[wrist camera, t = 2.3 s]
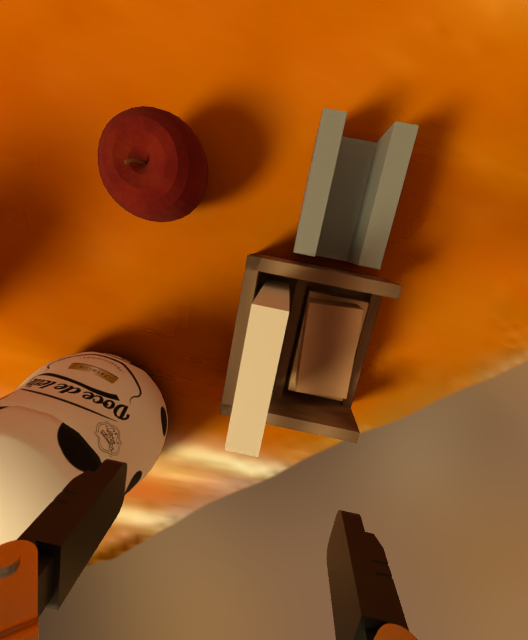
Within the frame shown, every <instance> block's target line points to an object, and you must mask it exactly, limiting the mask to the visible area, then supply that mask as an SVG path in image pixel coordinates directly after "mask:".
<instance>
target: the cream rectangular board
mask: <svg viewBox="0 0 528 640" xmlns="http://www.w3.org/2000/svg"><path fill="white" fill-rule="evenodd" d="M288 316H289V283H286V282H281V281H276V280H271V279H267V280H266V282H265V283H264V285H263V287H262V288H261V290H260V291H259V293H258V294H257V296H256V298H255V299H254V301H253V302H252V304H251V310H250V315H249V320H248V326H247V331H246V337H245V342H244V347H243V353H242V358H241V364H240V369H239V374H238V380H237V385H236V391H235V396H234V401H233V407H232V412H231V418H230V423H229V428H228V434H227V439H226V445H225V450H227V451H231V452H236V453H240V454H245V455H250V456H254V457H258V456H259V451H260V446H261V442H262V437H263V432H264V428H265V423H266V418H267V414H268V409H269V404H270V400H271V395H272V390H273V386H274V381H275V376H276V372H277V367H278V362H279V358H280V353H281V348H282V344H283V339H284V334H285V330H286V325H287V320H288Z"/></svg>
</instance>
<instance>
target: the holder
mask: <svg viewBox="0 0 528 640" xmlns="http://www.w3.org/2000/svg"><path fill="white" fill-rule="evenodd" d="M346 116H347V112H343V111H338V110H332V109H327V108H323V112H322V116H321V120H320V124H319V128H318V132H317V136H316V141H315V146H314V151H313V156H312V160H311V165H310V170H309V175H308V180H307V184H306V189H305V194H304V199H303V204H302V209H301V213H300V218H299V223H298V228H297V233H296V238H295V242H294V247H293V252H294V253H299V254H304V255H309V256H314V257H315V256H320V257H326V258H331V259H336V260H341V261H346V262H350V263H353V264H356V265H360V266H365V267H370V268H375V269H380V268H381V264H382V260H383V257H384V253H385V249H386V245H387V242H388V238H389V234H390V231H391V227H392V223H393V220H394V216H395V212H396V209H397V205H398V201H399V198H400V194H401V190H402V187H403V183H404V179H405V176H406V172H407V168H408V165H409V161H410V157H411V153H412V150H413V146H414V142H415V139H416V135H417V131H418V128H419V125H414V124H409V123H403V122H398V121H395V122H394V123H393V124H392V125H391V126H390V127H389V129H388V130H387V131H386V132H385V133H384V134H383V136H382V137H381V138H380V139H379V140H378V141H377V143H376V142H371V141H366V140H360V139H355V138H350V137H344V136H342V134H343V129H344V125H345V120H346Z"/></svg>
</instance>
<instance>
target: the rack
mask: <svg viewBox="0 0 528 640" xmlns="http://www.w3.org/2000/svg"><path fill="white" fill-rule="evenodd" d="M267 279H271V280H276V281H281V282H286V283H289V316H288V320H287V325H286V330H285V334H284V339H283V344H282V348H281V353H280V358H279V362H278V367H277V372H276V376H275V381H274V386H273V390H272V395H271V400H270V404H269V409H268V414H267V418H266V423H265V424H270V425H274V426H279V427H284V428H288V429H293V430H298V431H302V432H307V433H312V434H317V435H321V436H326V437H331V438H335V439H340V440H345V441H350V442H354V443H357V440H358V437H359V433H360V432H359V429H358V427H357V424H356V421H355V419H354V416H353V413H352V411H351V405H352V401H353V398H354V394H355V391H356V387H357V384H358V380H359V376H360V373H361V369H362V366H363V362H364V358H365V355H366V351H367V348H368V344H369V340H370V337H371V333H372V330H373V326H374V322H375V319H376V315H377V312H378V308H379V304H380V301H381V297H382V296H385V297H390V298H395V299H399V296H400V292H401V289H402V286H401V285H398V284H396V283H393V282H390V281H388V280H385V279H382V278H380V277H375V276H370V275H365V274H360V273H355V272H350V271H345V270H340V269H335V268H330V267H325V266H320V265H315V264H310V263H305V262H300V261H295V260H290V259H285V258H280V257H274V256H269V255H264V254H259V253H254V254H250V255H247V261H246V266H245V272H244V278H243V283H242V289H241V295H240V300H239V306H238V312H237V318H236V323H235V329H234V335H233V340H232V346H231V352H230V357H229V363H228V369H227V374H226V380H225V386H224V391H223V397H222V403H221V408H220V414H223V415H227V416H231V412H232V407H233V401H234V396H235V391H236V385H237V380H238V374H239V369H240V364H241V358H242V353H243V347H244V342H245V337H246V331H247V326H248V320H249V315H250V310H251V304H252V302H253V301H254V299H255V298H256V296H257V294H258V293H259V291H260V290H261V288H262V287H263V285H264V283H265V282H266V280H267ZM308 287H311V288H316V289H321V290H326V291H331V292H336V293H341V294H346V295H351V296H356V297H361V298H363V299H364V300H366V301H367V302H368V303H369V305H368V308H367V312H366V316H365V320H364V323H363V327H362V331H361V334H360V338H359V342H358V345H357V349H356V353H355V357H354V362H353V367H352V372H351V377H350V383H349V388H348V393H347V398H346V399H344V398H343V401H339V400H334V399H329V398H325V397H320V396H315V395H310V394H305V393H301V392H296V391H291V390H288V376H289V371H290V367H291V362H292V358H293V353H294V349H295V344H296V340H297V335H298V331H299V326H300V322H301V318H302V313H303V309H304V304H305V300H306V295H307V291H308Z"/></svg>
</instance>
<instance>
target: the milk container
mask: <svg viewBox="0 0 528 640" xmlns="http://www.w3.org/2000/svg"><path fill="white" fill-rule="evenodd" d="M167 429H168V415H167V409H166V405H165V402H164V399H163V397H162V394H161V392H160V390H159V388H158V387H157V385H156V384H155V383H154V381H153V380H152V379H151V377H150V376H149V375H148V374H147V373H146V372H145V371H144V370H143V369H141V368H140V367H138V366H137V365H135V364H134V363H132V362H131V361H129V360H127V359H125V358H122V357H120V356H116V355H113V354H109V353H104V352H83V353H77V354H72V355H68V356H65V357H62V358H59V359H57V360H54V361H52V362H50V363H48V364H46V365H44V366H43V367H41V368H40V369H38V370H37V371H35V372H34V373H32V374H31V375H30V376H29V377H28V378H27V379H26V380H25V381H24V382H23V383H22V384H21V385H20V386H19V387H18V388H17V389H16V390H15V391H14V392H12V393H10V394H8V395H6V396H4V397H2V398H0V545H1V544H4V543H7V542H10V541H14V540H17V539H18V538H19V537H20V535H21V534H22V533H23V532H24V531H25V530H26V529H27V528H28V527H29V526H30V525H31V524H32V522H33V521H34V520H35V519H36V518H37V517H38V516H39V515H40V514H41V513H42V512H43V510H44V509H45V508H46V507H47V506H48V505H49V504H50V503H51V502H53V500H54V499H55V497H56V496H57V495H58V494H59V493H60V492H62V490H63V489H64V488H65V487H66V485H67V484H68V483H69V482H70V481H71V480H72V479H73V478H75V477H76V476H78V475H80V474H82V473H83V472H85V471H87V470H89V471H93V472H95V471H96V470H97V468H98V467H99V466H100V465H101V464H102V463H103V461H104V460H106V459H111V460H116V461H120V462H125V463H127V476H126V485H125V494H126V493H127V492H129V491H130V490H131V489H132V488H133V487H135V486H136V485H137V484H138V483H139V482H140V481H141V480H142V479H143V478H144V477H145V476H146V475H147V474H148V473H149V471H150V470H151V469H152V467H153V466H154V464H155V462H156V461H157V459H158V457H159V455H160V453H161V450H162V448H163V445H164V442H165V438H166V434H167ZM125 494H124V495H125Z"/></svg>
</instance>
